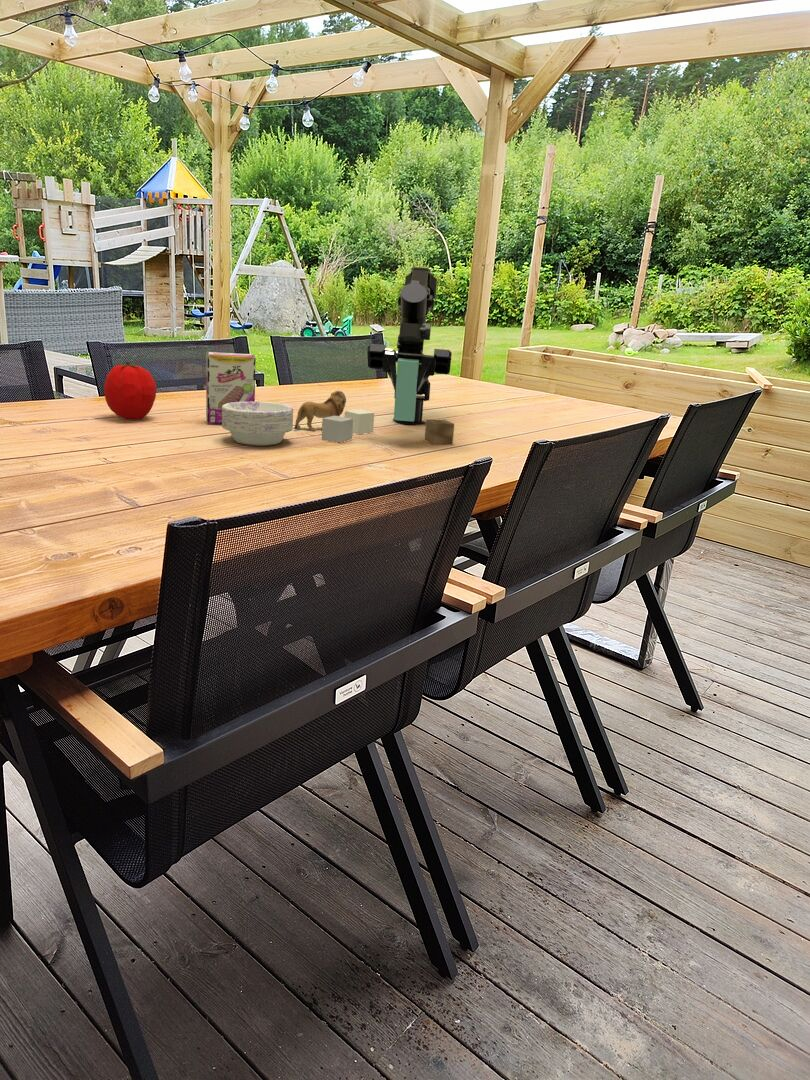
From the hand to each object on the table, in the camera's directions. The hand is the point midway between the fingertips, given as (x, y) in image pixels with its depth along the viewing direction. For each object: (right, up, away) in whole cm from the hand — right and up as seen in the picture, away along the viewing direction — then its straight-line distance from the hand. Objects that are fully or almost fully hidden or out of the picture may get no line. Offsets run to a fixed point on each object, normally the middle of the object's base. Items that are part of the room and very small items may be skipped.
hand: (406, 389), depth 169 cm
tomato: (-65, -5, +12) cm, 66 cm away
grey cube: (-16, -10, +7) cm, 20 cm away
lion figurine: (-21, -6, +18) cm, 28 cm away
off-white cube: (-12, -7, +17) cm, 22 cm away
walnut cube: (+8, -10, +12) cm, 18 cm away
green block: (0, -6, +4) cm, 7 cm away
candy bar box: (-42, -5, +16) cm, 45 cm away
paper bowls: (-33, -12, -1) cm, 35 cm away
